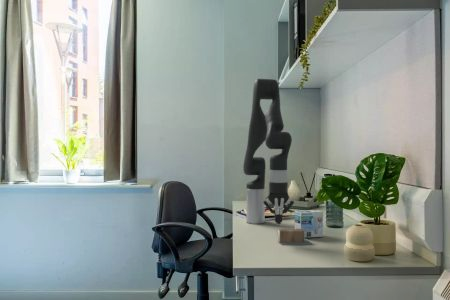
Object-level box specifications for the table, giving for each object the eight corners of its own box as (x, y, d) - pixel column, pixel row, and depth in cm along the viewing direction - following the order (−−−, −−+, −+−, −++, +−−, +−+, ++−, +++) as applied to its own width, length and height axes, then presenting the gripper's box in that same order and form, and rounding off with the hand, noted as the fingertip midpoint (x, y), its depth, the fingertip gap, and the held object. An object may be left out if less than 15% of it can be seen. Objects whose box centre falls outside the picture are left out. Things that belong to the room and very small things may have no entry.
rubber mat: (277, 239, 169) (277, 238, 169) (305, 238, 169) (305, 237, 169) (282, 244, 159) (282, 244, 159) (312, 244, 159) (312, 243, 159)
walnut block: (277, 229, 166) (301, 228, 166) (277, 239, 166) (301, 239, 166) (279, 231, 161) (303, 231, 162) (279, 242, 161) (303, 242, 162)
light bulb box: (301, 238, 169) (300, 212, 169) (294, 235, 175) (293, 210, 176) (324, 236, 171) (323, 211, 172) (316, 234, 178) (316, 209, 178)
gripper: (292, 180, 167) (292, 221, 168) (260, 180, 167) (260, 222, 167) (296, 181, 160) (296, 225, 160) (263, 181, 159) (263, 225, 159)
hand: (278, 223), depth 163 cm, fingers closed
